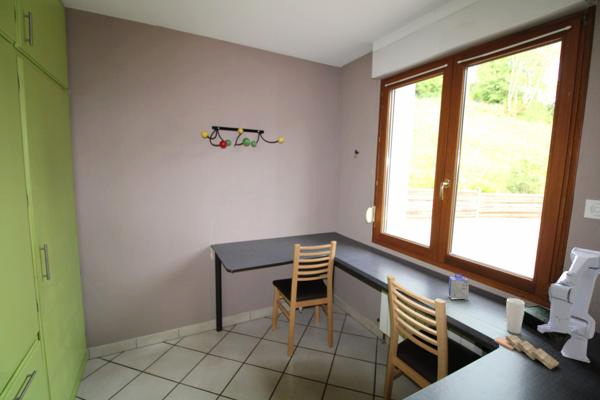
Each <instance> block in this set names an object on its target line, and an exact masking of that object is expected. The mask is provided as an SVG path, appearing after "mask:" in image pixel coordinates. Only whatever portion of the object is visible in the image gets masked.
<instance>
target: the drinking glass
mask: <svg viewBox="0 0 600 400" xmlns="http://www.w3.org/2000/svg"><path fill="white" fill-rule="evenodd" d="M505 305H506V307H505V310H506V311H505V312H506V313H505V315H506V330H507V331H508V332H509V333H511V334H514V335H515V334H516V335H519V334H521V332H522V324H523V320H524V316H525V301H523V300H521V299H519V298H513V297H508V298H507V299H506V304H505Z"/></svg>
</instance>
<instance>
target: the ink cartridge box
mask: <svg viewBox="0 0 600 400" xmlns="http://www.w3.org/2000/svg"><path fill="white" fill-rule="evenodd" d="M469 286H470V280H469V279H468V277H463V275H462V274H461V273H455V274H454V276H449V277H448V294H449V296H450V298H457V299H466V300H465V301H467V300H468V301H469V288H470V287H469ZM449 296H448V297H449ZM450 298H449V299H450Z"/></svg>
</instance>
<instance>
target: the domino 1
mask: <svg viewBox="0 0 600 400" xmlns="http://www.w3.org/2000/svg"><path fill="white" fill-rule="evenodd" d="M504 339H506V340H507V341H508V342H509V343H510V344H512V345H513V346H514V347H515V348H516V349H515V350H517V352H519V353H522V352H523V353H525V352H524V351H523V350H522V349H521V348H520V347H519V346H517V344H518V342H522V341H523V340H521V339H520V338H519V337H518V336H517V334H516V335H515V334H514V335H513V334H512V335H506V336H505V338H504Z"/></svg>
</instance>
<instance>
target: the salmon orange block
mask: <svg viewBox="0 0 600 400" xmlns="http://www.w3.org/2000/svg"><path fill="white" fill-rule="evenodd" d="M494 342H495V343H496V344H498V345H499V346H502V347H504V348H506V349H508V350H510V351H514V350H517V349H516V348H515V347H514V346H513V345H512V344H510V343H509V342H508V341H507V340H506V339H505V338H504V337H502V336H501V337H498V338H496V339H494Z"/></svg>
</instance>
